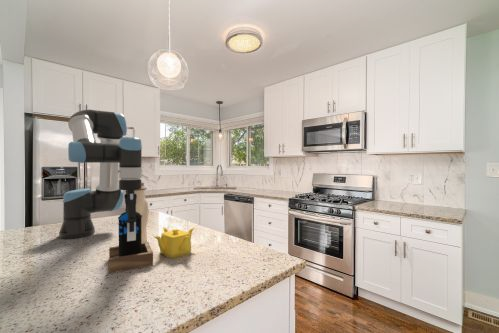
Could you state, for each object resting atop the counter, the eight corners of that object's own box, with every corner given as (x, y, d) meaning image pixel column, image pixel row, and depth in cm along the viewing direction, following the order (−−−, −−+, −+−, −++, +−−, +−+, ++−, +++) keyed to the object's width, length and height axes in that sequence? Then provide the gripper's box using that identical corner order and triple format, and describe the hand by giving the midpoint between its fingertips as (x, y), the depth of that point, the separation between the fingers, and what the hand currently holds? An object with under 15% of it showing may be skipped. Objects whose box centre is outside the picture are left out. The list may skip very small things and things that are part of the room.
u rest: (109, 259, 94) (109, 247, 94) (148, 252, 101) (148, 241, 101) (108, 273, 82) (108, 259, 82) (153, 265, 88) (153, 252, 88)
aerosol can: (123, 254, 95) (123, 203, 95) (145, 254, 96) (145, 203, 95) (113, 263, 87) (113, 207, 87) (137, 262, 88) (137, 207, 87)
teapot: (163, 246, 108) (163, 225, 108) (195, 246, 109) (195, 225, 109) (151, 259, 93) (151, 234, 93) (189, 259, 94) (189, 234, 94)
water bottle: (138, 247, 106) (138, 184, 106) (120, 246, 108) (120, 183, 108) (152, 240, 116) (152, 182, 116) (136, 239, 118) (136, 182, 118)
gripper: (118, 177, 100) (118, 228, 100) (119, 181, 78) (119, 247, 79) (138, 176, 104) (138, 226, 104) (145, 181, 82) (144, 243, 82)
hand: (130, 235), depth 91 cm, fingers open, 13 cm apart
